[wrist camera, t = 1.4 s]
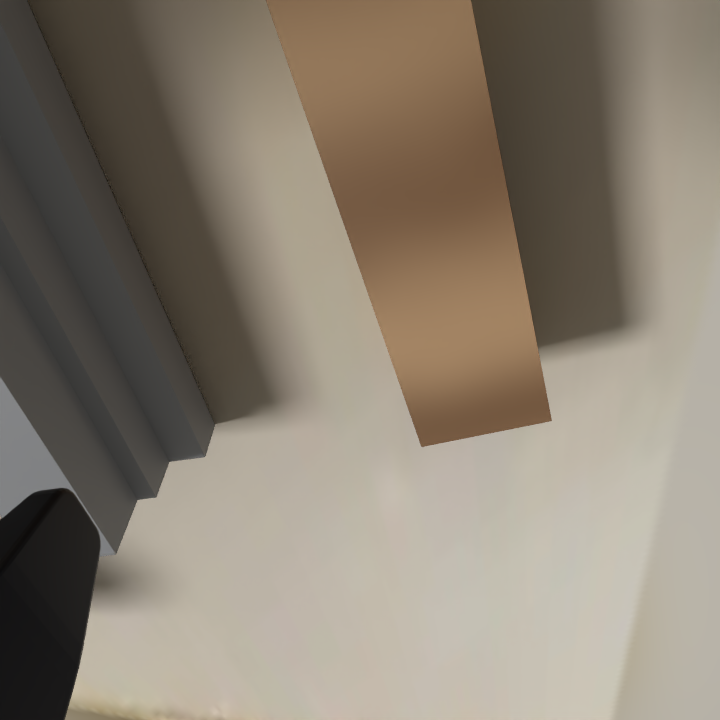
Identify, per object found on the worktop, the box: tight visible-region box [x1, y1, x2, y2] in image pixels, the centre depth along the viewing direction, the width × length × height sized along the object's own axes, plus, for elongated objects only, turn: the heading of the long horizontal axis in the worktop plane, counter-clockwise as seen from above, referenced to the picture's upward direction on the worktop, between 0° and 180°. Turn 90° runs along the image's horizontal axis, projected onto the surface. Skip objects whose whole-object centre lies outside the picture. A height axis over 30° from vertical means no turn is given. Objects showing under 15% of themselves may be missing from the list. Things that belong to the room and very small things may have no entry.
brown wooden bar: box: [266, 0, 552, 447], centre depth 16 cm, size 14×4×4 cm, turn 17°
